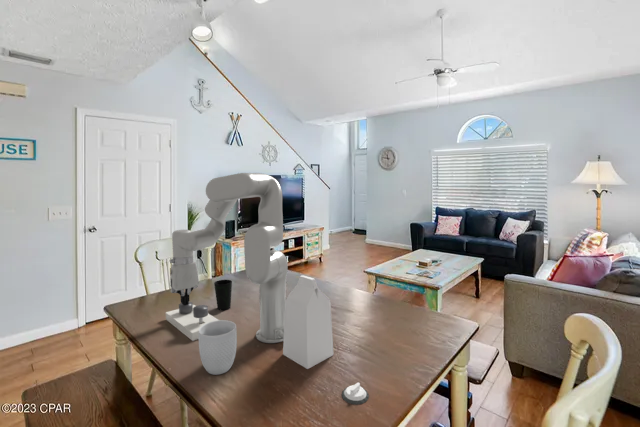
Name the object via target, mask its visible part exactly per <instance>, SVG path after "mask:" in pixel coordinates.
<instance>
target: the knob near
mask: <svg viewBox="0 0 640 427" xmlns="http://www.w3.org/2000/svg"><path fill="white" fill-rule="evenodd" d="M208 307H209V306H208V305H206V304H199V305H195V307H194V308H193V316H194V317H195V318H199V323H200V324H201V323H203V317H206V316H207V315H208V314H209V308H208Z"/></svg>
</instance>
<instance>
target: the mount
mask: <svg viewBox="0 0 640 427" xmlns="http://www.w3.org/2000/svg"><path fill="white" fill-rule="evenodd" d="M195 306H196V305H195V304H193V308H194V307H195ZM165 320H166V321H167V322H169V323H170V324H171V325H172V326H174V327H175V328H176V329H177V330H178V331H180V332H181V333H182V334H183V335H185V336H186V338H189V340H191V341H192V342H194V341H196V340H197V341H198V340H199V334H198V331H199V328H200V327H201V326H203V325H204V324H206V323H209V322H212V321H218V320H219V319H218V318H216V317H215V316H213V315H212V314H210V313H208V315H207V316H206V317H203V323H201V324H200V323H199V318H195V317H194V316H193V311H192V312H190V313H186V314H181V313H179V308H177V309H173V310H169V311H166V312H165Z"/></svg>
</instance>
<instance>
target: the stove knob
mask: <svg viewBox="0 0 640 427" xmlns="http://www.w3.org/2000/svg"><path fill="white" fill-rule="evenodd" d="M341 398H342V399H343V400H344V401H345V403H348V404H351V405H354V406H355V405H362V404H365V403H366V402H367V401H368V400H369V398H370V395H369V393H368V391H367V390H366V389H365V388H364V387H362V386H361V383H360V382H359V381H358V382H356V383H355V384H353V385H349V386H347V387H346V388H344V389H343V390H342V391H341Z"/></svg>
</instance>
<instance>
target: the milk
mask: <svg viewBox="0 0 640 427" xmlns="http://www.w3.org/2000/svg"><path fill="white" fill-rule="evenodd" d="M331 303H332V302H331V299H330V298H329V296H327V295H326V294H325V293H324V292H323V291H322V290H321V289H320V288H319V287H318V284H317V280H316V278H314V277H310V276H307V275H300V276H299V278H298V280H297V284H296V285H295V286H294V288H292V289H291V291H290V293H288V295H287V296H286V300H285V315H284V341H282V342H283V345H282V347H283V348H282V355H283V356H284V357H287V358H288V359H289V360H291V361H294V362H295V363H297V364H298V365H300V366H302V367H303V368H305V369H307V370H309V369H310V368H312V367H314V366H315V365H316V366H317V365H318V364H320V363H321V362H323V361H325V360H327V359H328V358H331V357H332V356H334V341H333V340H334V338H333V323H332V322H333V320H332V307H331V306H332V304H331Z"/></svg>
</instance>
